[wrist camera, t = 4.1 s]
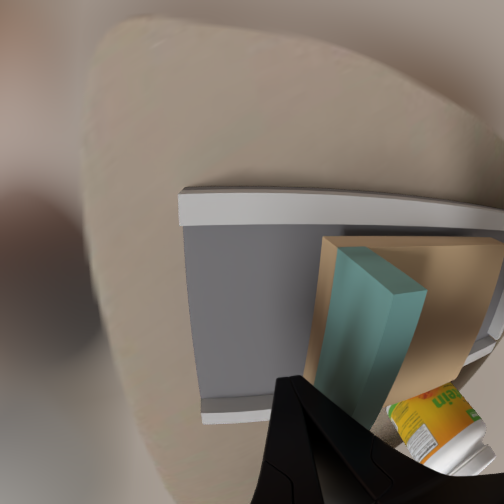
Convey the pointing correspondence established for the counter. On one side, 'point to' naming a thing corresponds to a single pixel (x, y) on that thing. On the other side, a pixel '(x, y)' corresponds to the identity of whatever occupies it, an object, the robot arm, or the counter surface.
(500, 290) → the track
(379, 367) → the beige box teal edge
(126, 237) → the counter surface
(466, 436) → the supplement bottle
